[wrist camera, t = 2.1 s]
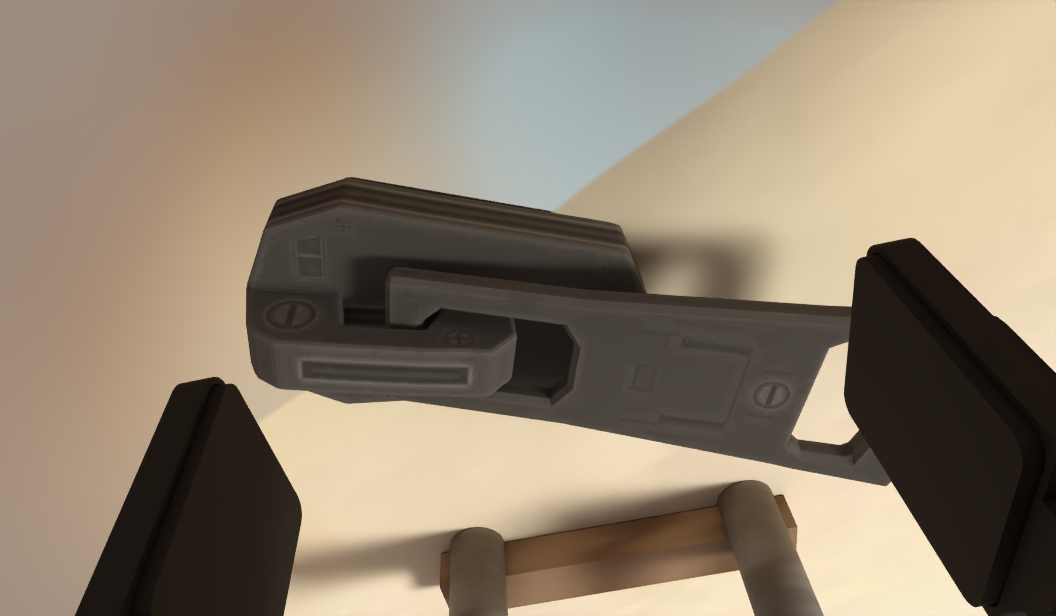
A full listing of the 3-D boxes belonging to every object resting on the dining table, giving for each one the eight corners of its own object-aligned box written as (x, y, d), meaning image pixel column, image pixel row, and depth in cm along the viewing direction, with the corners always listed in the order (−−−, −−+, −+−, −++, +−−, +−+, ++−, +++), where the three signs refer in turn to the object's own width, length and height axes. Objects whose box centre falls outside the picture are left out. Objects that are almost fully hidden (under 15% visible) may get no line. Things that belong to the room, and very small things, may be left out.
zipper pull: (901, 501, 29) (232, 488, 26) (833, 387, 35) (271, 365, 32) (1012, 317, 24) (195, 274, 21) (912, 216, 29) (249, 169, 26)
